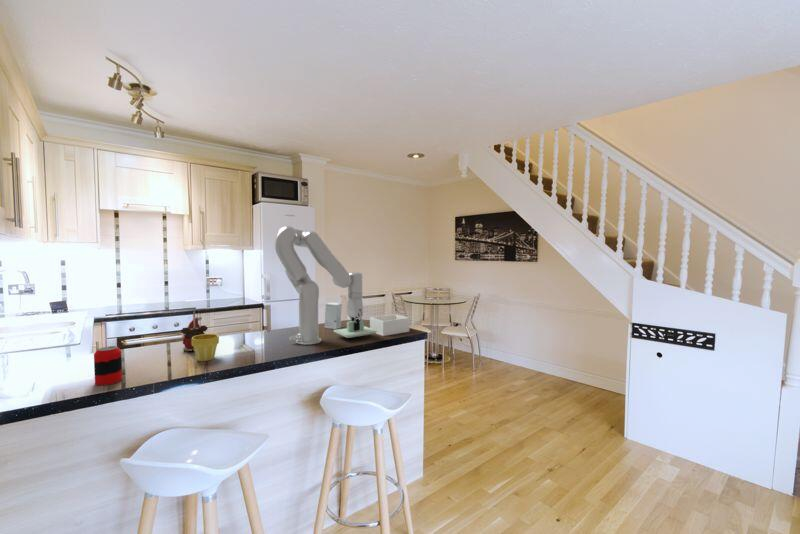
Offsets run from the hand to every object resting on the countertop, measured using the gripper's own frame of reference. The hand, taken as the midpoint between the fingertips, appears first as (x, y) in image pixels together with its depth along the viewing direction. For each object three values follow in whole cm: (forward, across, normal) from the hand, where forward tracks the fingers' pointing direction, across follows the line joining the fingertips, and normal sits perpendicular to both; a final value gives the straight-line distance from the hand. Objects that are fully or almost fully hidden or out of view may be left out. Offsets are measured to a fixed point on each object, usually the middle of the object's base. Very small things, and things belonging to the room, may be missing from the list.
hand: (355, 329), depth 194 cm
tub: (+4, -1, +23) cm, 23 cm away
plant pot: (+4, -3, -71) cm, 71 cm away
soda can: (+4, +7, -103) cm, 103 cm away
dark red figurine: (+4, -22, -73) cm, 76 cm away
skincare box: (+5, -27, 0) cm, 27 cm away
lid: (+2, 0, 0) cm, 2 cm away
